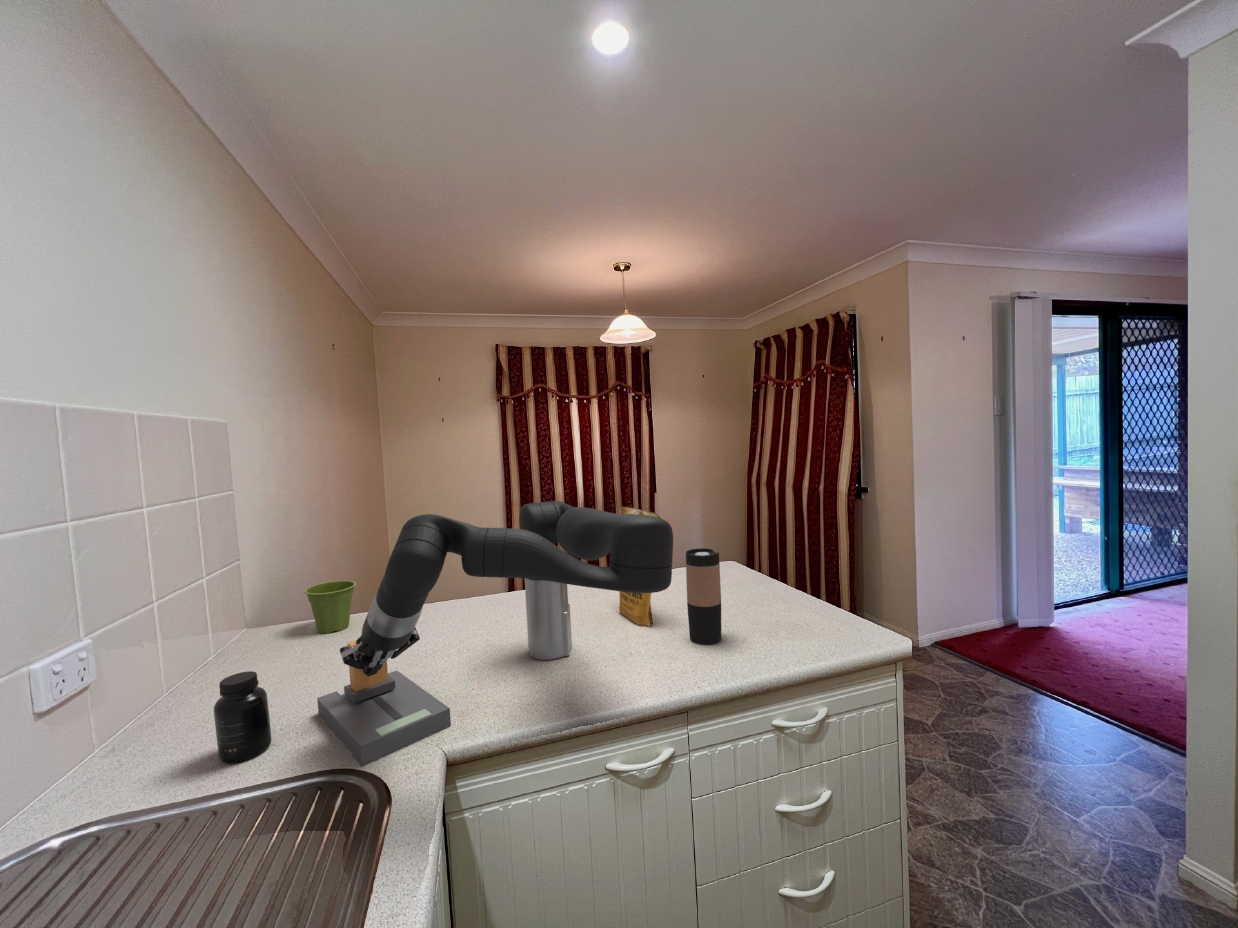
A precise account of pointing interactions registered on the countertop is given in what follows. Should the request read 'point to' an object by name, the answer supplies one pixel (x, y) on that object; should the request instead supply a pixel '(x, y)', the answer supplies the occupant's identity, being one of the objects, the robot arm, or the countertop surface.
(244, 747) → the supplement bottle
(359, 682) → the handle
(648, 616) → the pancake mix bag
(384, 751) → the switch console
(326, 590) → the plant pot
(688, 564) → the travel mug
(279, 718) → the countertop surface
